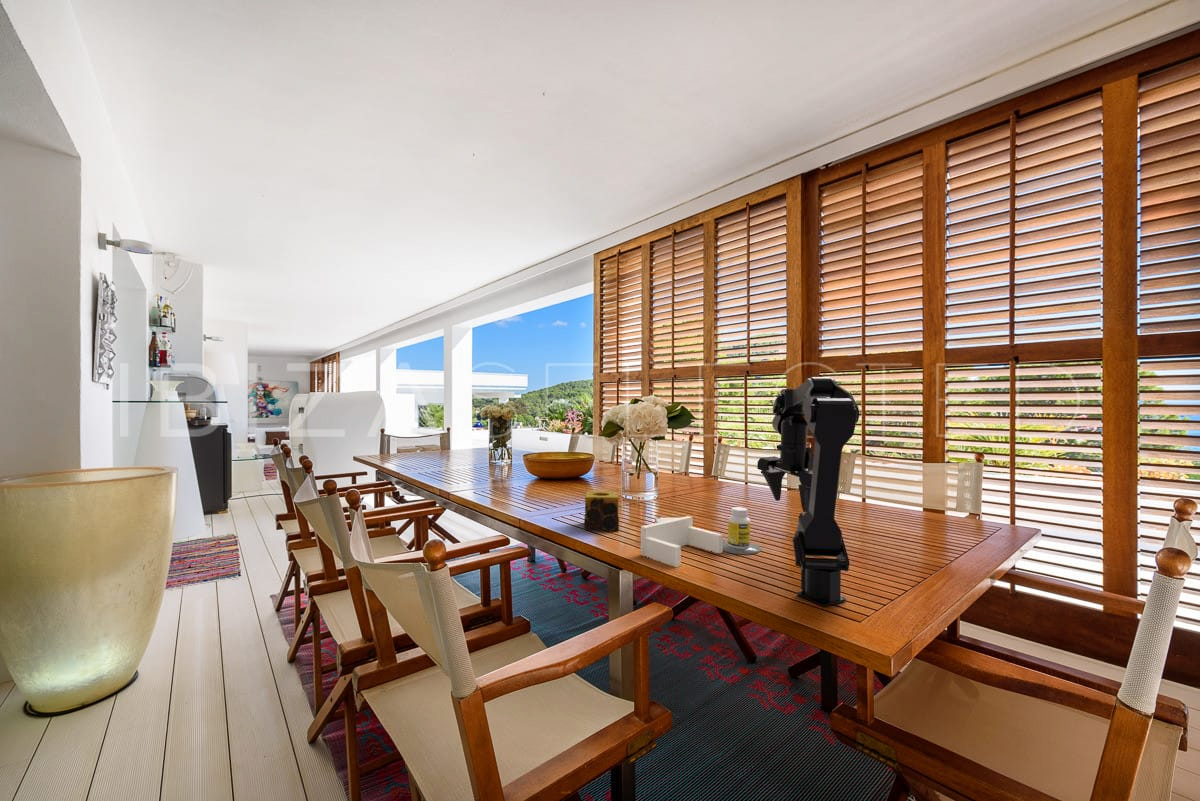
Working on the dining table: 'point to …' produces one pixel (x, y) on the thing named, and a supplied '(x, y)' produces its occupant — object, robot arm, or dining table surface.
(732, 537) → the supplement bottle
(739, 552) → the coaster
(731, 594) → the dining table surface
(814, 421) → the robot arm
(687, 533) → the cream u-shaped arch
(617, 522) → the candle
